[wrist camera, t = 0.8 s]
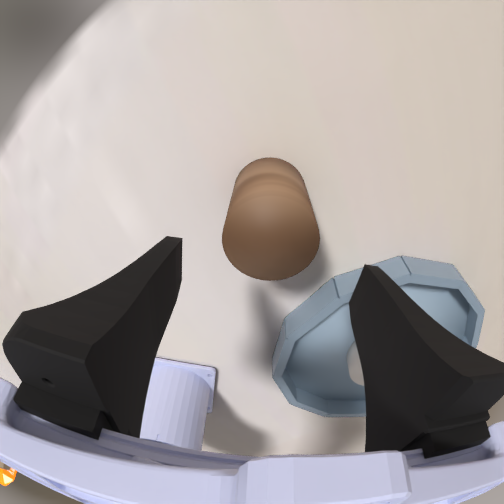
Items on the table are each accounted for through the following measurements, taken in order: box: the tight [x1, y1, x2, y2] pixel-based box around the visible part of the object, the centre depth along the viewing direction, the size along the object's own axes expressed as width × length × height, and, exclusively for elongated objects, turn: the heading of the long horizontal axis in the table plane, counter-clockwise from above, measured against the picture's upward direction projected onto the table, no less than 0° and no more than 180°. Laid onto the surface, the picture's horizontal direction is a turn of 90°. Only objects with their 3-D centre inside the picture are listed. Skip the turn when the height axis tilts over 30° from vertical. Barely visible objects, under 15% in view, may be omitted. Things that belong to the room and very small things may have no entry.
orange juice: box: [0, 468, 17, 486], centre depth 74 cm, size 8×9×20 cm
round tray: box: [272, 256, 485, 417], centre depth 26 cm, size 20×20×2 cm
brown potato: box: [222, 158, 320, 281], centre depth 17 cm, size 4×4×6 cm
